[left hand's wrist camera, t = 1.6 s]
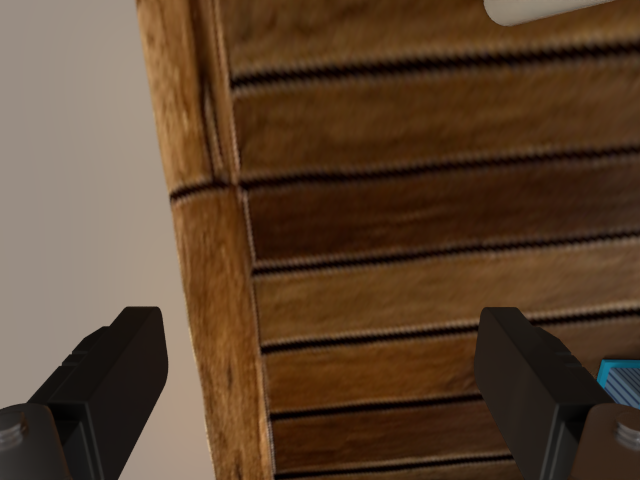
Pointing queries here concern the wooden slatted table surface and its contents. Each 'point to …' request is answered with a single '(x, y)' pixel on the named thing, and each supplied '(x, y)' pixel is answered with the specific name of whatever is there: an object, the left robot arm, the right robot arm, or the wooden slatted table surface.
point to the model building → (621, 381)
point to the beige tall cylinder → (532, 9)
